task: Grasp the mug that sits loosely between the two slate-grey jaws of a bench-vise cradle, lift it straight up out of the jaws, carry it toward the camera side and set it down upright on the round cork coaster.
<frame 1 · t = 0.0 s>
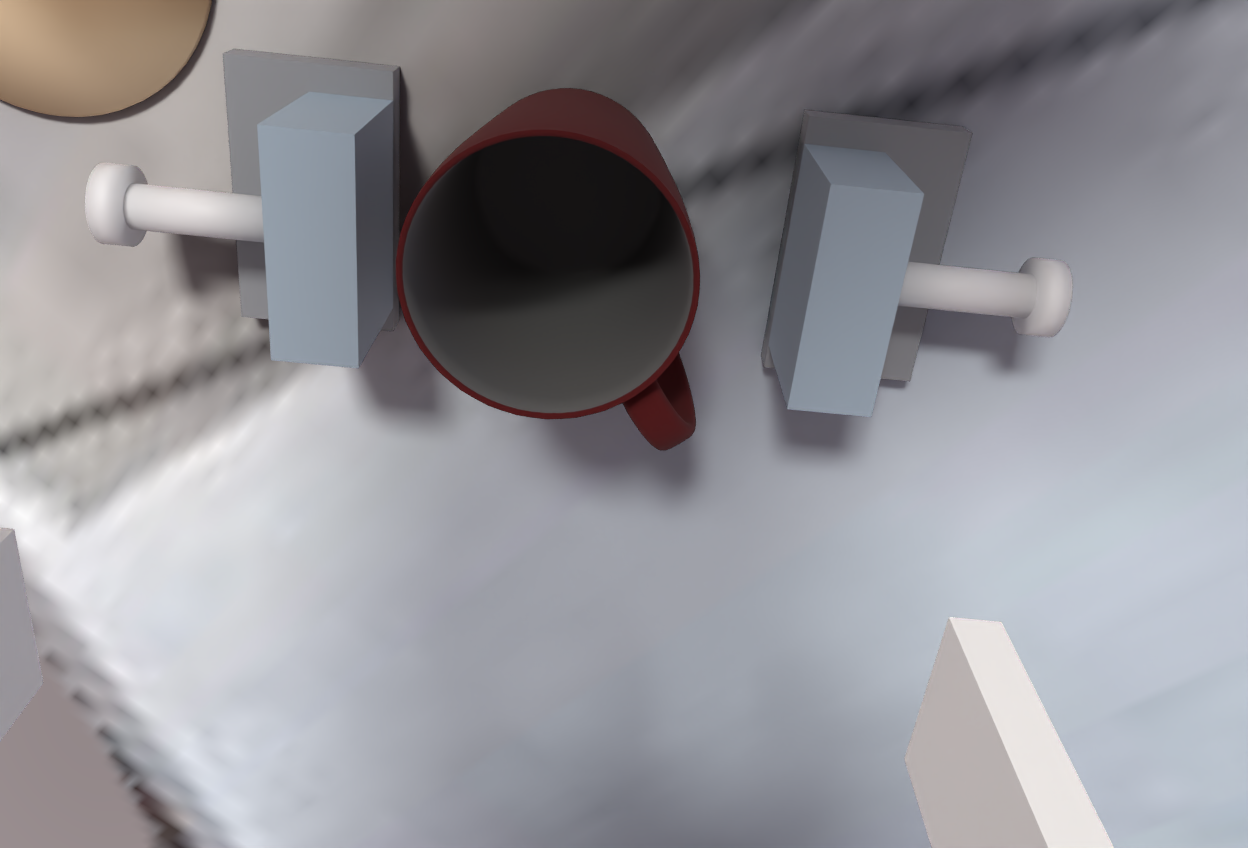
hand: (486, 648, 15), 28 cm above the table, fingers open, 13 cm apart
vise: (591, 220, 41), on the table
mug: (592, 218, 41), on the table
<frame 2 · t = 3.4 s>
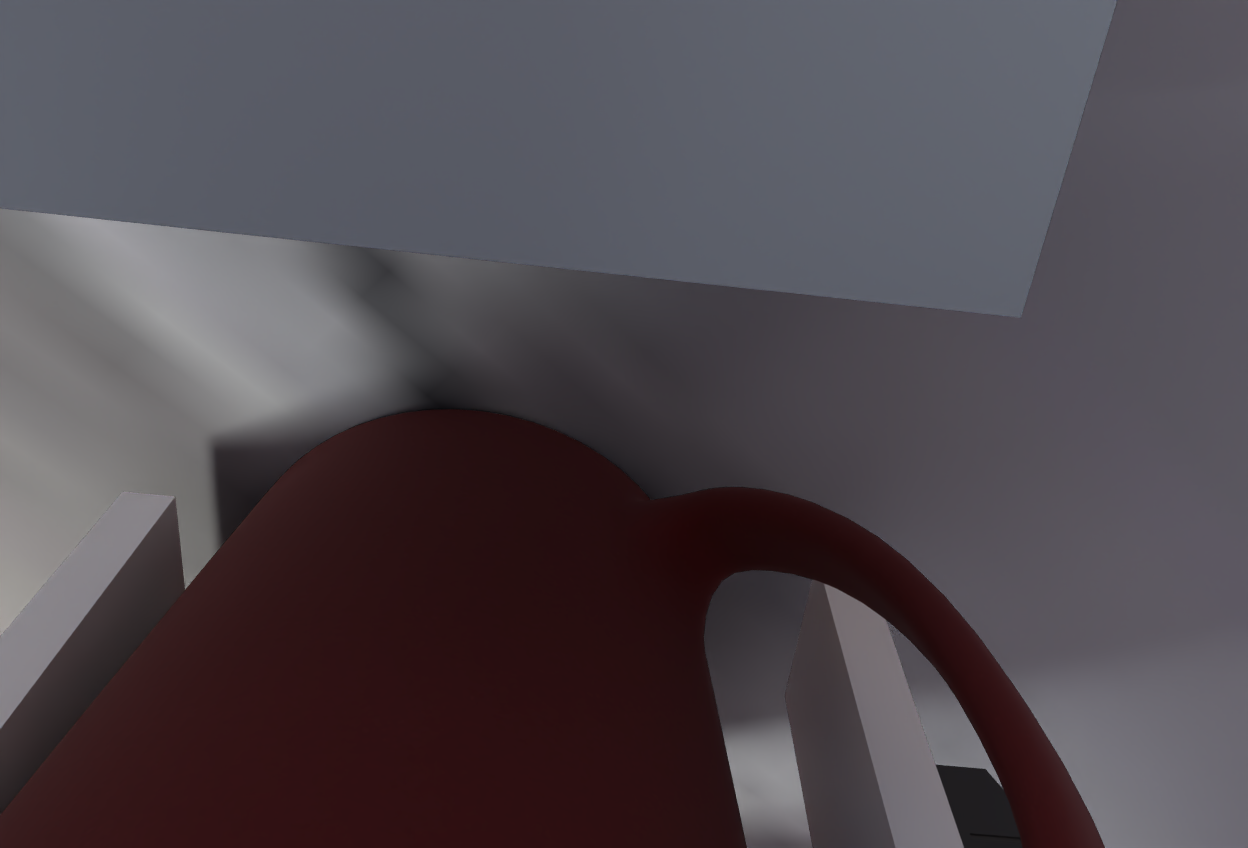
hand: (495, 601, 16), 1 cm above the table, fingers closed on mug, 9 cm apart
vise: (507, 562, 17), on the table
mug: (545, 554, 17), on the table, touching gripper
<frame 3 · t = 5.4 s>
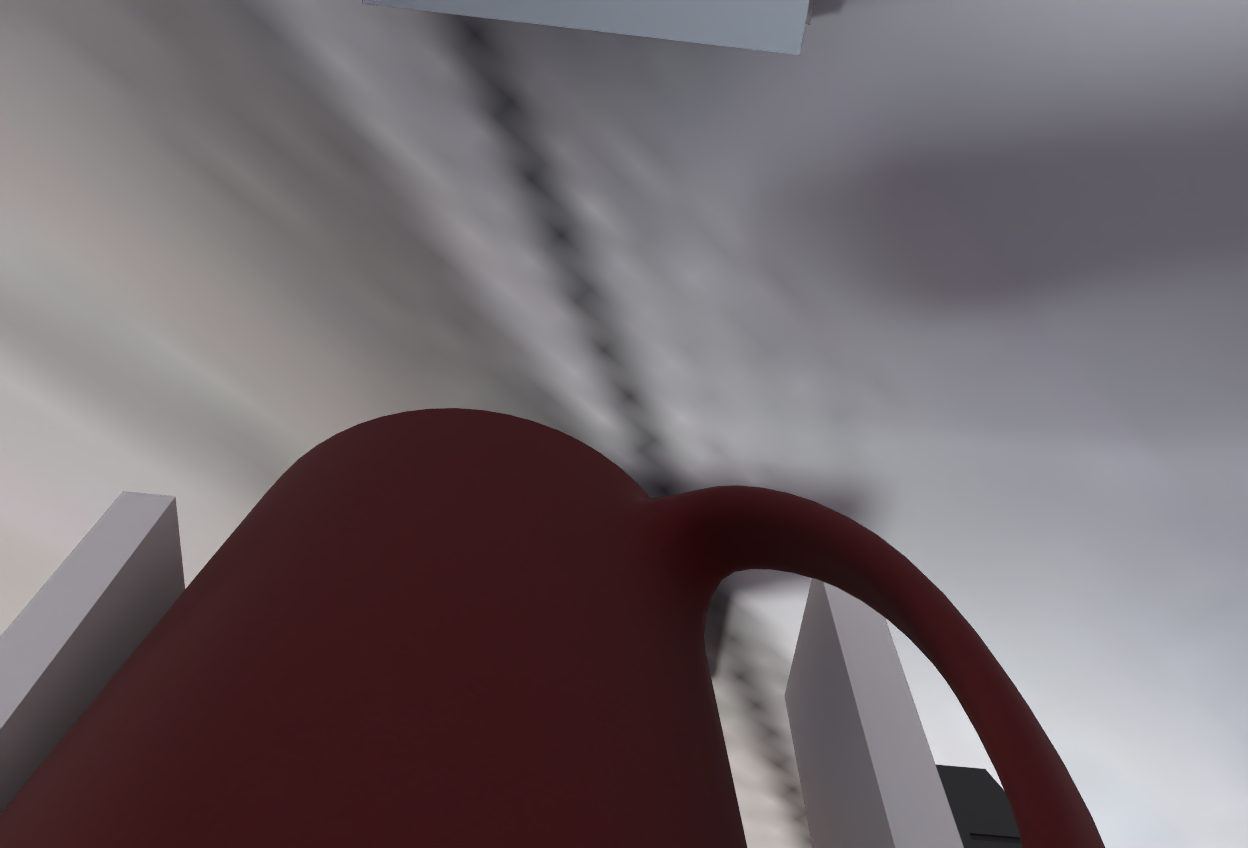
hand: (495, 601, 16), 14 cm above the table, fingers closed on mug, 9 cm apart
vise: (572, 286, 29), on the table
mug: (545, 552, 17), point 13 cm above the table, touching gripper
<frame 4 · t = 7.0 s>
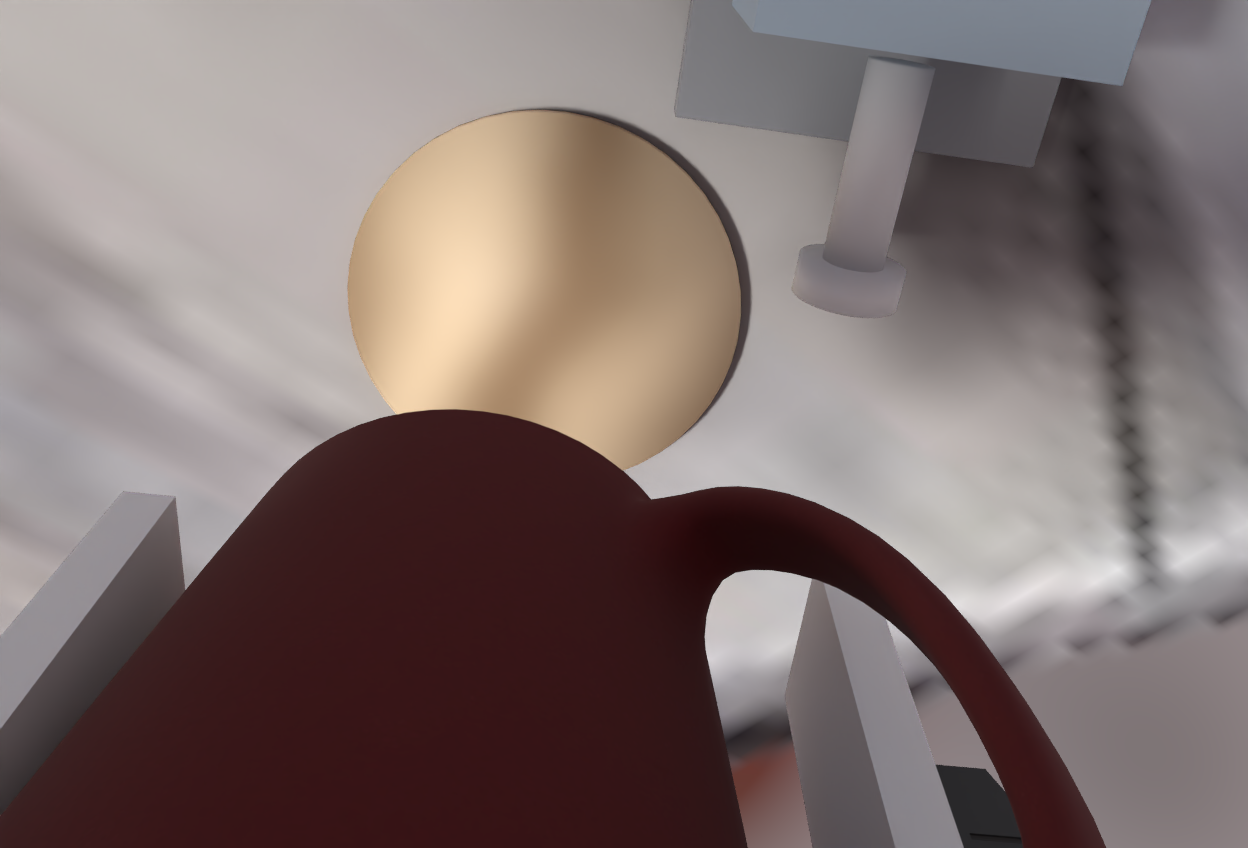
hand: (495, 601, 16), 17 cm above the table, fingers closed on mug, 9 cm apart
coaster: (545, 309, 32), on the table
mug: (545, 553, 17), point 16 cm above the table, touching gripper
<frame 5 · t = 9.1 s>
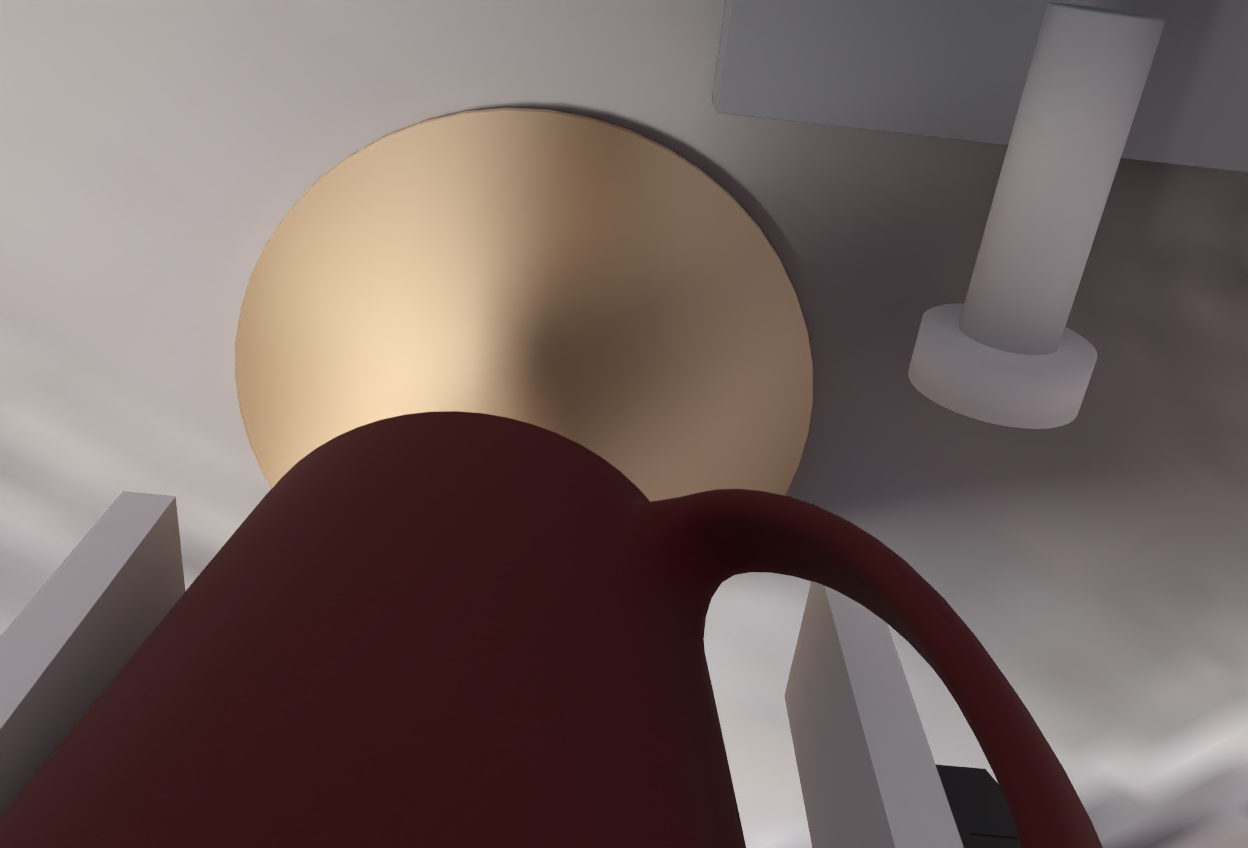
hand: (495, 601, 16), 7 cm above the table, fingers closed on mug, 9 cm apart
coaster: (527, 397, 22), on the table
mug: (544, 555, 17), point 6 cm above the table, touching gripper
when the fingers open (3 cm above the table, at t = 10.8 s): mug drops 2 cm, resting on coaster.
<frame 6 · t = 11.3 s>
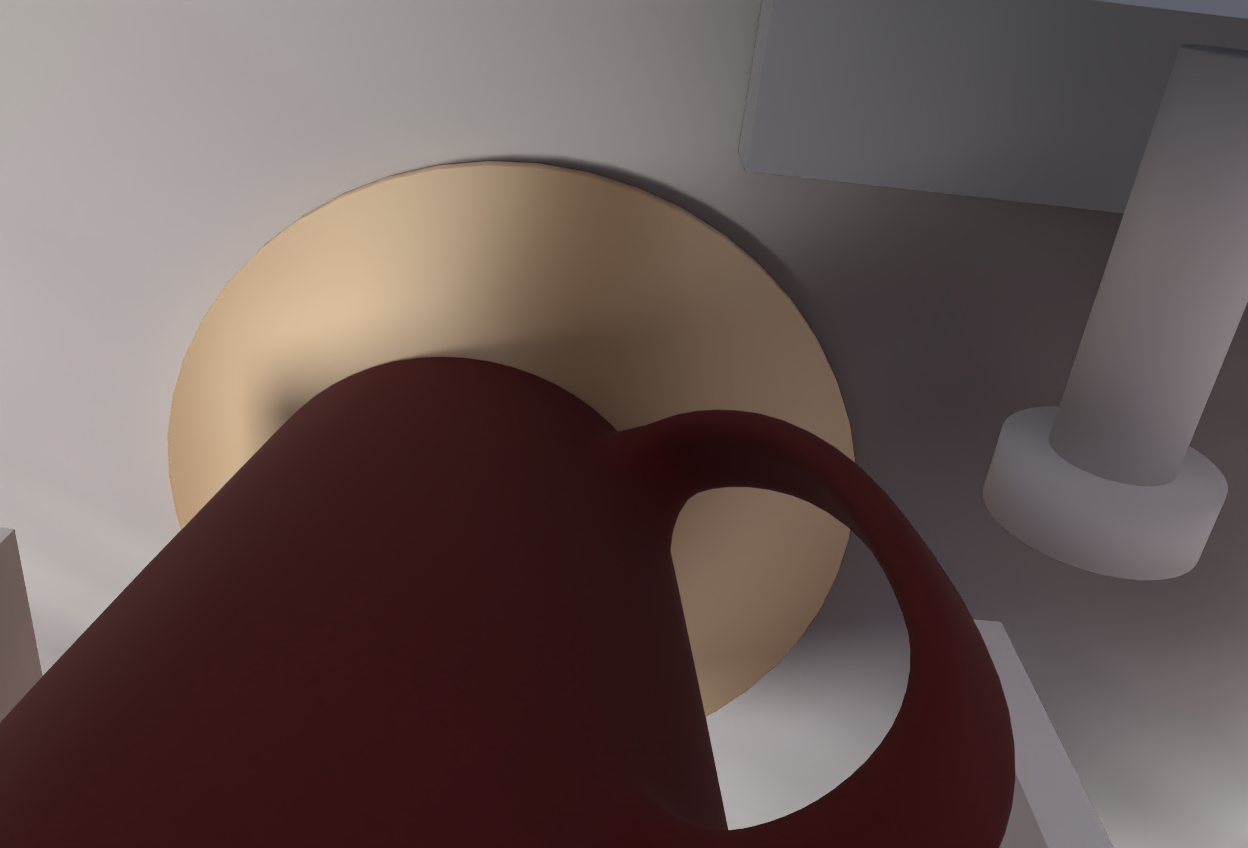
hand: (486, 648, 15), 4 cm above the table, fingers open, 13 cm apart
coaster: (515, 496, 19), on the table
mug: (529, 494, 18), resting on coaster
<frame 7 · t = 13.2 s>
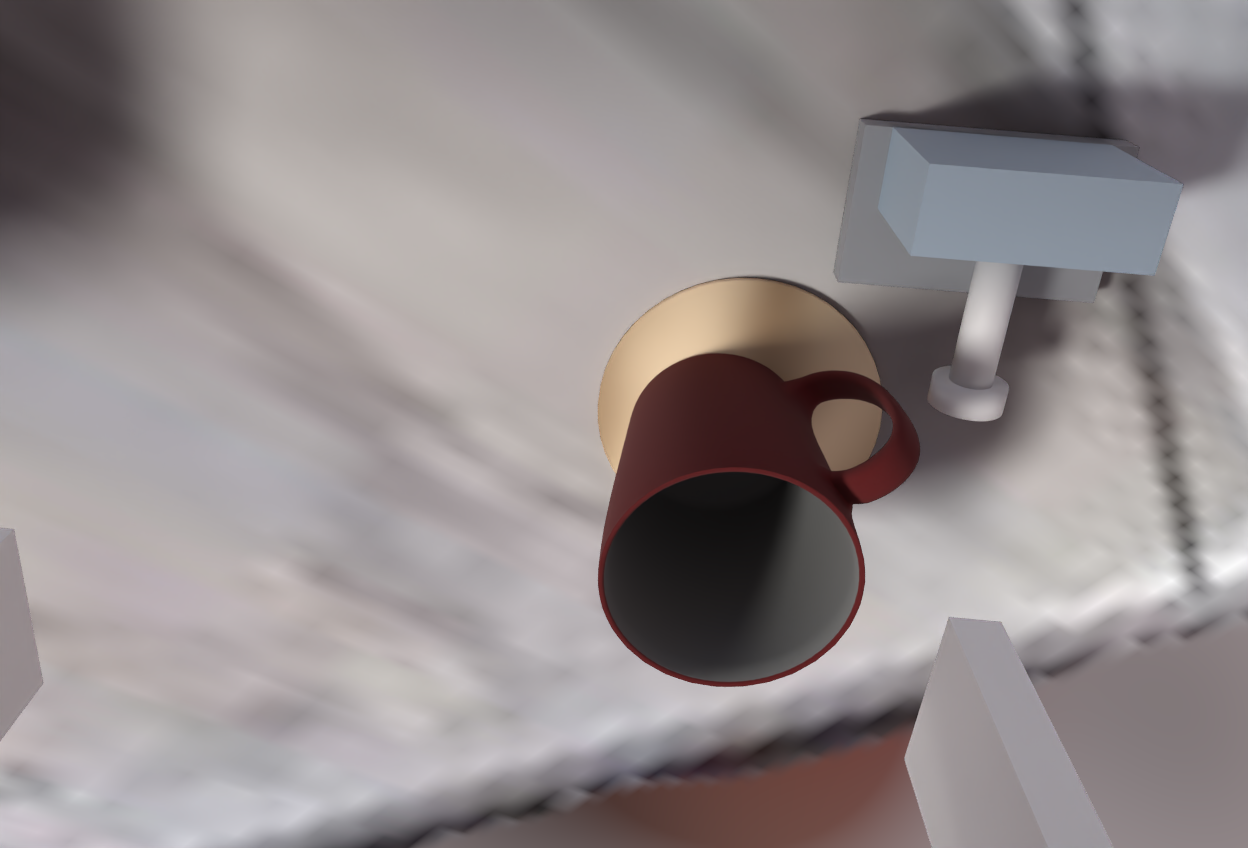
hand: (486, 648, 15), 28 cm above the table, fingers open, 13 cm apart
coaster: (738, 411, 44), on the table
mug: (745, 409, 44), resting on coaster
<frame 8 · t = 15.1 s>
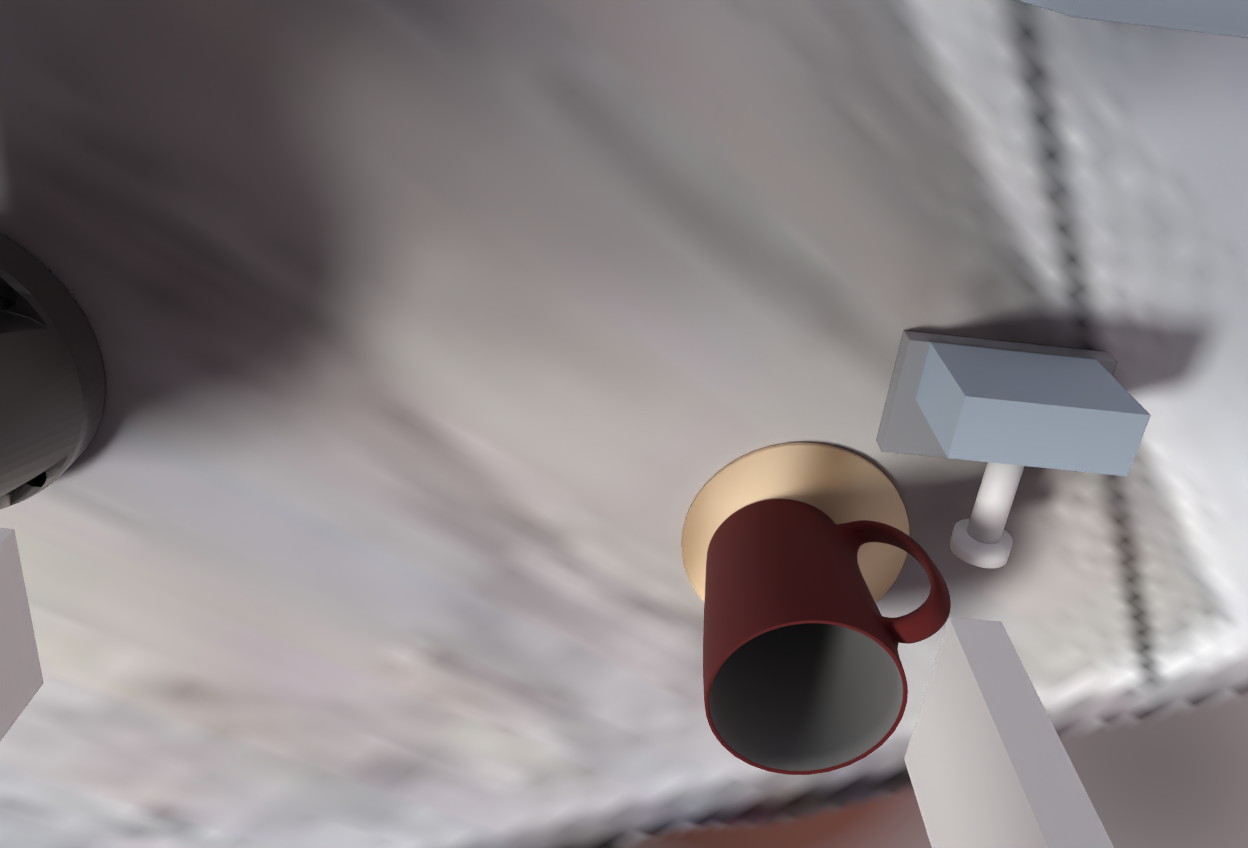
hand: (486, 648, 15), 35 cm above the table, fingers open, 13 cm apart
coaster: (794, 541, 55), on the table
vise: (1051, 187, 47), on the table
mug: (800, 540, 55), resting on coaster
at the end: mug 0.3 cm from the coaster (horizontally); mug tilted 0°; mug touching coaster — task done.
